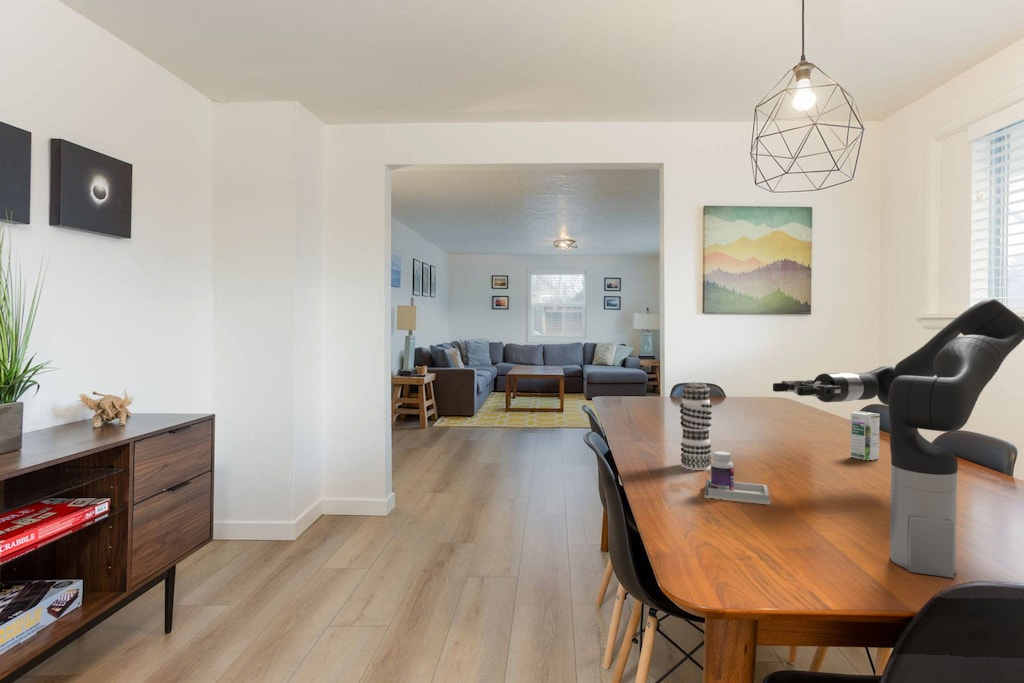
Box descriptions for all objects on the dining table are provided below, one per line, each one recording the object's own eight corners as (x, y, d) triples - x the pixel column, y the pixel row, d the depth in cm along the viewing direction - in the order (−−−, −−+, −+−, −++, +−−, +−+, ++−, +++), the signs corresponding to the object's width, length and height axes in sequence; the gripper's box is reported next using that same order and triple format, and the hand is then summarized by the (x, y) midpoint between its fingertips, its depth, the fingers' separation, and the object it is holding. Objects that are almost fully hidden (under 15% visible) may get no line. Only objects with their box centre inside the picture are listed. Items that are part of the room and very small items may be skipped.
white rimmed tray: (766, 492, 134) (766, 484, 134) (770, 504, 125) (770, 496, 125) (705, 486, 140) (705, 478, 139) (704, 497, 130) (704, 489, 130)
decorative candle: (707, 463, 163) (707, 381, 162) (716, 471, 153) (716, 385, 153) (676, 462, 163) (676, 381, 163) (683, 470, 154) (683, 385, 153)
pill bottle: (735, 495, 130) (735, 456, 130) (712, 494, 131) (712, 455, 131) (731, 488, 136) (731, 450, 135) (709, 487, 137) (709, 450, 136)
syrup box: (849, 457, 168) (849, 411, 167) (861, 455, 170) (861, 410, 170) (868, 461, 163) (868, 414, 162) (879, 459, 165) (880, 413, 165)
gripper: (816, 370, 146) (766, 372, 142) (862, 375, 132) (807, 377, 128) (816, 398, 146) (766, 400, 142) (861, 405, 132) (807, 408, 128)
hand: (785, 389), depth 135 cm, fingers open, 8 cm apart
